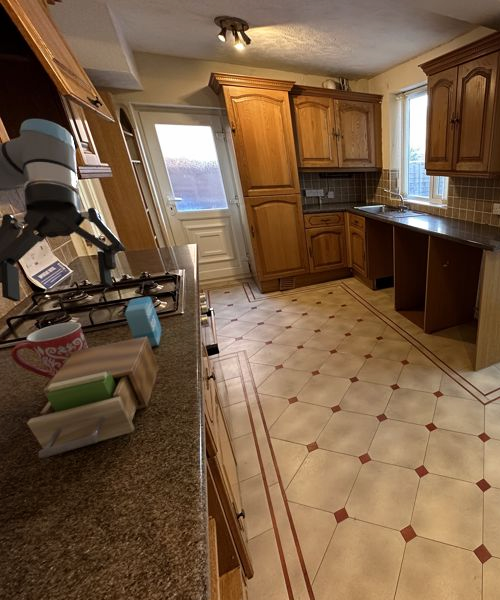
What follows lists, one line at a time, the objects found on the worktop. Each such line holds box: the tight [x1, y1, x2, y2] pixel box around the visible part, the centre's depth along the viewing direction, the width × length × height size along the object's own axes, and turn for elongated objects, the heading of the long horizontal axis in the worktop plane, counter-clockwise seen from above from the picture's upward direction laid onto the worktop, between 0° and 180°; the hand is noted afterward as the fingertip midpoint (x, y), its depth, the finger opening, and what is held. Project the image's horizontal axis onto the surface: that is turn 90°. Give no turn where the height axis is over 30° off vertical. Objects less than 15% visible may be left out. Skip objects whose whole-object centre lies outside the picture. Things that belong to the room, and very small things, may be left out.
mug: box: [10, 322, 89, 380], centre depth 76 cm, size 13×9×14 cm
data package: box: [124, 296, 163, 348], centre depth 93 cm, size 12×4×12 cm, turn 30°
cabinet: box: [42, 337, 160, 411], centre depth 72 cm, size 16×14×10 cm
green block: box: [46, 371, 117, 412], centre depth 62 cm, size 4×8×10 cm, turn 116°
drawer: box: [26, 375, 139, 460], centre depth 62 cm, size 21×12×8 cm, turn 26°
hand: (61, 291), depth 60 cm, fingers open, 13 cm apart
